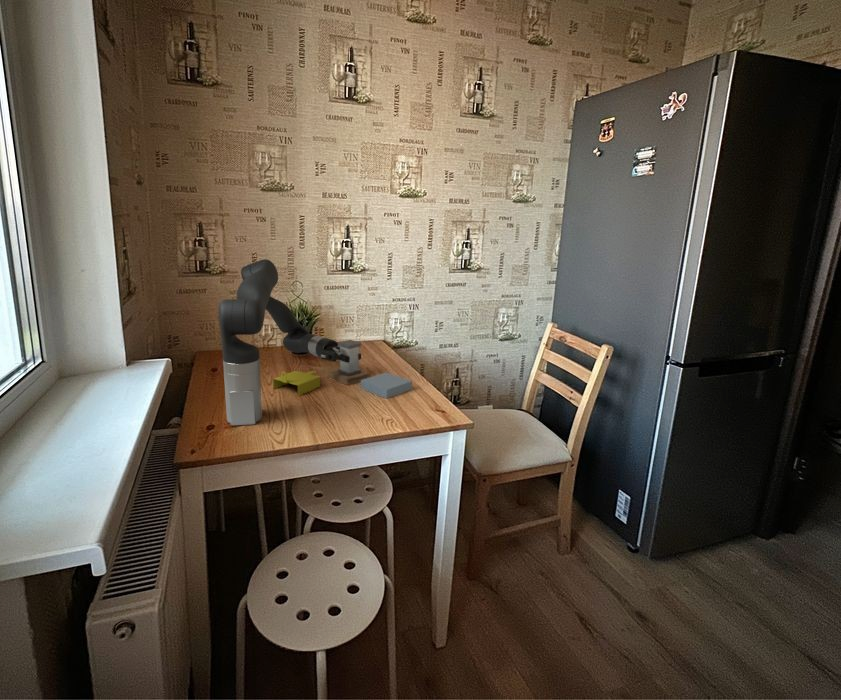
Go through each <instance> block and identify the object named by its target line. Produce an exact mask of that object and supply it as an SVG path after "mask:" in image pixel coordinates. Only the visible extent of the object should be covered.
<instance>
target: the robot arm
mask: <svg viewBox="0 0 841 700" xmlns="http://www.w3.org/2000/svg"><path fill="white" fill-rule="evenodd" d="M240 275H241V279H242V281H241V283H240V284H239V286H238V288H237V289H236V291H237V292H236V298H235V299H232V298H231V299H222V300H221V301H220V303H219V305H218V322H219V323H218V324H219V333H220V341H221V351H222V365H223V379H224V395H225V409H226V411H225V413H226V422H228V423H229V424H230V425H231V426H245V425H247V426H248V425H249V426H250V425H256V423H258V422H259V421H261V419H262V418H263V404H262V388H261V387H262V385H261V384H262V383H261V361H260V359H261V358H260V356H261V355H260V350H259V347H257V346H256V345H254V344H251V343H248V342H245V341H243V340H241V339H240V338H239V337H238V336H239V335H240V336H244V335H245V336H246V335H247V336H252V335H257V334H259V333H260V332H261V331H262V329H263V326H264V321H265V316H266V311H267V313H268V315H270V316H271V318H272V319H273V321H274V323H275V325H276V326H277V328H278V329H279V331H280V332H282V333H284V334H286V335H285V336H284V338H283V339H282V345H283V347H284V348H285V349H286V350H287V351H289V352H291V353H297V354H298V353H307V354H310V355H313V356H314V357H318V358H320V359H321V360H322V361H323V360H324V361H330V362H337V361H338V362H340V361H344V362H346V363H349V362H350V357H349V356H347V355H344V354H341V353H340V346H338V342H337V341H336V340H334V339H331V338H327V337H324V336H319V335H317V334H312V333H310V332H309V331H308V329H307V328H305V326H303V324H301V323H300V322H299V321H298V320H297V319H296V317H295V315H294V314H293V312H292V310H291V309H290V307H289V306H288V305H287V304H286V303H284V302H283V301H281V300H279V299H276V298H275V297H273V296H272V295H271V294H272V292H273V290H274V288H275V286H276V285H277V284H278V282H279V274H278V269H277V267H276V265H275V264H274V262H272V261H271V260H270V259H267V258H265V259H260V260H258V261H255V262H252V263H249V264H247V265H244V266H242V267H241V270H240ZM237 335H238V336H237ZM361 359H362V353H360V352H359V361H360V360H361Z"/></svg>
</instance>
